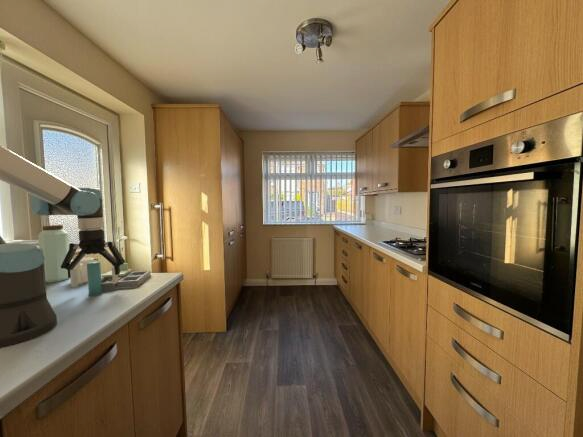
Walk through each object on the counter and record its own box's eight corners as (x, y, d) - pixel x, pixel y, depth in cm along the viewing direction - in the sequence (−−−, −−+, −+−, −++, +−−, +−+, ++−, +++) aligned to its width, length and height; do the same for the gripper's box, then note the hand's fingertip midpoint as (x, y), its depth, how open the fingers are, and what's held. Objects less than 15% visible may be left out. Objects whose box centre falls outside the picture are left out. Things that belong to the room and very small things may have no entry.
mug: (69, 287, 104) (67, 263, 104) (72, 280, 114) (71, 259, 113) (94, 283, 109) (92, 261, 108) (95, 277, 119) (93, 256, 118)
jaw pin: (98, 295, 94) (96, 263, 94) (86, 296, 93) (84, 264, 93) (104, 291, 98) (102, 261, 97) (92, 292, 97) (90, 262, 97)
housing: (136, 288, 102) (135, 281, 101) (91, 291, 98) (90, 284, 98) (151, 275, 119) (150, 269, 119) (113, 278, 116) (112, 272, 116)
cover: (123, 275, 108) (122, 267, 108) (101, 277, 106) (101, 268, 106) (131, 270, 116) (130, 262, 116) (111, 271, 115) (111, 263, 115)
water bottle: (77, 276, 121) (73, 224, 119) (59, 282, 111) (55, 226, 109) (55, 276, 120) (51, 224, 118) (35, 283, 110) (30, 226, 108)
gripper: (132, 226, 101) (135, 278, 102) (59, 229, 95) (63, 284, 97) (124, 228, 93) (127, 284, 95) (44, 231, 88) (49, 291, 89)
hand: (95, 284), depth 96 cm, fingers open, 13 cm apart
